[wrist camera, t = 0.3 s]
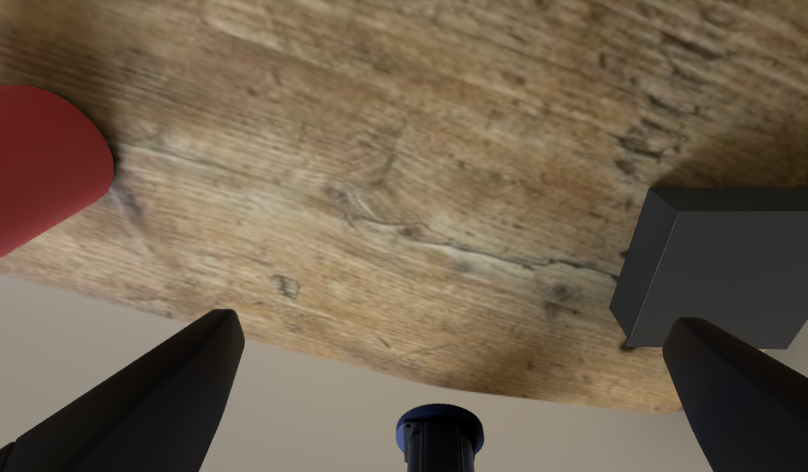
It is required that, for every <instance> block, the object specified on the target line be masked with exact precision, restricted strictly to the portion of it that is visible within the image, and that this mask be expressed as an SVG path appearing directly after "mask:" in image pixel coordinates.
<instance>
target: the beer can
mask: <svg viewBox="0 0 808 472" xmlns="http://www.w3.org/2000/svg"><path fill="white" fill-rule="evenodd" d="M113 177H114V165H113V157H112V154H111V152H110V149H109V146H108V144H107V141H106V140H105V138H104V137H103V135H102V134H101V132H100V131H99V129H98V128H97V127H96V125H95V124H94V123H93V122H92V121H91V120H90V119H89V118H88V117H87V116H86V115H85V114H84V113H83V112H82V111H81V110H80V109H78V108H77V107H76V106H74V105H73V104H71V103H69V102H68V101H66V100H64V99H63V98H61V97H60V96H58V95H56V94H54V93H51V92H48V91H46V90H43V89H40V88H37V87H34V86H30V85H10V84H9V85H4V86H0V258H2V257H3V256H5V255H7V254H8V253H10V252H12V251H13V250H15V249H17V248H18V247H20V246H22V245H23V244H25V243H27V242H28V241H30V240H32V239H33V238H35V237H37V236H38V235H40V234H42V233H43V232H45V231H47V230H48V229H50V228H52V227H53V226H55V225H57V224H59V223H60V222H62V221H64V220H65V219H67V218H69V217H70V216H72V215H74V214H75V213H77V212H79V211H80V210H82V209H84V208H85V207H87V206H89V205H90V204H92V203H94V202H95V201H97V200H98V199H100V198H101V197H102V196H103V195H104V194H105V193H107V192H108V190H109V187H110V185H111V182H112V180H113Z"/></svg>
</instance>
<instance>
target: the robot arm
mask: <svg viewBox="0 0 808 472" xmlns="http://www.w3.org/2000/svg"><path fill="white" fill-rule="evenodd" d="M244 344H245V338H244V334H243V331H242V328H241V325H240V322H239V319H238V316H237V313H236V312H235V311H234V310H232V309H214V310H212V311H210V312H208V313H207V314H205V315H204V316H202V317H201V318H199V319H198V320H196V321H195V322H193V323H192V324H190V325H188V326H187V327H185V328H184V329H182V330H181V331H179V332H178V333H176V334H175V335H173V336H172V337H170V338H169V339H167V340H166V341H165V342H163V343H161V344H160V345H158V346H157V347H155V348H154V349H152V350H151V351H149V352H148V353H146V354H144V355H143V356H141V357H140V358H138V359H137V360H135V361H134V362H132V363H131V364H129V365H128V366H126V367H125V368H123V369H122V370H120V371H119V372H117V373H116V374H114V375H113V376H111V377H109V378H108V379H106V380H105V381H103V382H102V383H100V384H99V385H97V386H96V387H94V388H93V389H91V390H90V391H88V392H87V393H85V394H84V395H82V396H81V397H79V398H78V399H76V400H75V401H73V402H72V403H70V404H68V405H67V406H66V407H64V408H62V409H61V410H59V411H58V412H56V413H55V414H53V415H52V416H50V417H49V418H47V419H46V420H44V421H43V422H41V423H40V424H38V425H36V426H35V427H34V428H32V429H30V430H29V431H27V432H26V433H24V434H23V435H21V436H20V437H18V438H17V440H16V441H15V442H11V443H9V444H7V445H6V446H4V447H3V448H1V449H0V472H199V470H200V467H201V465H202V463H203V460H204V458H205V456H206V454H207V451H208V449H209V447H210V444H211V442H212V440H213V437H214V435H215V433H216V430H217V428H218V425H219V423H220V420H221V418H222V415H223V413H224V410H225V407H226V403H227V400H228V397H229V394H230V391H231V388H232V384H233V381H234V378H235V375H236V372H237V368H238V365H239V362H240V359H241V355H242V352H243V349H244ZM662 352H663V358H664V361H665V363H666V366H667V368H668V371H669V373H670V376H671V378H672V381H673V383H674V386H675V388H676V391H677V393H678V396H679V398H680V401H681V403H682V406H683V408H684V411H685V413H686V416H687V419H688V421H689V423H690V425H691V428H692V430H693V432H694V434H695V436H696V439H697V441H698V443H699V445H700V447H701V448H702V451H703V453H704V454H705V456H706V458H707V460H708V462H709V464H710V466H711V468H712V470H713V471H714V472H808V378H807V377H805V376H804V375H802V374H800V373H798V372H796V371H795V370H793V369H791V368H790V367H788V366H786V365H784V364H782V363H780V362H779V361H777V360H775V359H773V358H772V357H770V356H768V355H767V354H765V353H763V352H761V351H760V350H758V349H756V348H754V347H753V346H751V345H749V344H747V343H746V342H744V341H742V340H740V339H739V338H737V337H735V336H733V335H731V334H730V333H728V332H726V331H724V330H723V329H721V328H719V327H717V326H716V325H714V324H712V323H710V322H709V321H707V320H705V319H703V318H698V317H680V318H678V319H676V320H675V321H674V323H673V325H672V327H671V329H670V332H669V334H668V336H667V338H666V340H665V342H664V344H663V349H662ZM403 434H404V456H405V462H406V463H408V466H407V468H408V469H407V472H475V471H474V459H475V451H476V443H477V435H478V422H477V421H475V420H457V419H421V418H406V419H404V421H403Z"/></svg>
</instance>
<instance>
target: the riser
mask: <svg viewBox="0 0 808 472" xmlns="http://www.w3.org/2000/svg"><path fill="white" fill-rule="evenodd" d="M609 309H610V310H611V312H612V313H613V315H614V317H615V318H616V320H617V322H618V323H619V325H620V327H621V328H622V330H623V332H624V333H625V335H626V337H627V338H626V340H625V345H626V346H627V347H663V344H664V342H665V340H666V338H667V336H668V334H669V332H670V329H671V327H672V325H673V323H674V321H675V320H676V319H678V318H680V317H698V318H703V319H705V320H707V321H709V322H710V323H712V324H714V325H716V326H717V327H719V328H721V329H723V330H724V331H726V332H728V333H730V334H731V335H733V336H735V337H737V338H739V339H740V340H742V341H744V342H746V343H747V344H749V345H751V346H753V347H754V348H756V349H787V348H788V347H789V345H790V344H791V342H792V341H793V339H794V338H795V337H796V335H797V334H798V332H799V331H800V329H801V328H802V327H803V325H804V324H805V322H806V321H807V319H808V188H649V190H648V193H647V196H646V199H645V202H644V205H643V208H642V211H641V214H640V217H639V220H638V223H637V226H636V229H635V232H634V235H633V238H632V241H631V244H630V247H629V250H628V253H627V256H626V259H625V262H624V265H623V268H622V271H621V274H620V277H619V280H618V283H617V286H616V289H615V292H614V295H613V298H612V301H611V304H610V307H609Z"/></svg>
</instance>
